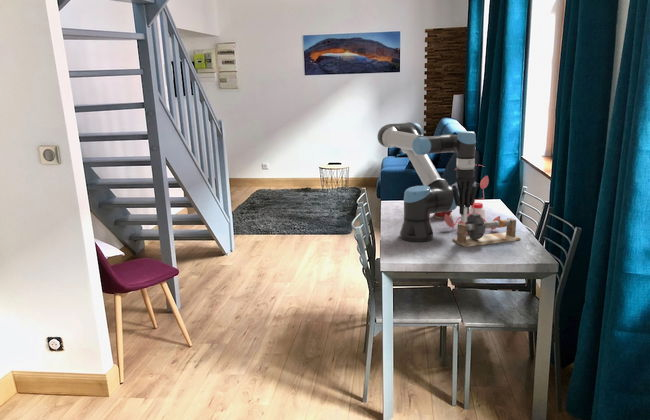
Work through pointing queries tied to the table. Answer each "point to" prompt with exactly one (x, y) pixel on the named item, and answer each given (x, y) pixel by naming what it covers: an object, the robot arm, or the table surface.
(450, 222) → the figurine
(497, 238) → the pipe rig
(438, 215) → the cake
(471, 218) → the square-toothed gear
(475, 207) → the pill bottle
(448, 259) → the table surface
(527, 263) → the table surface
